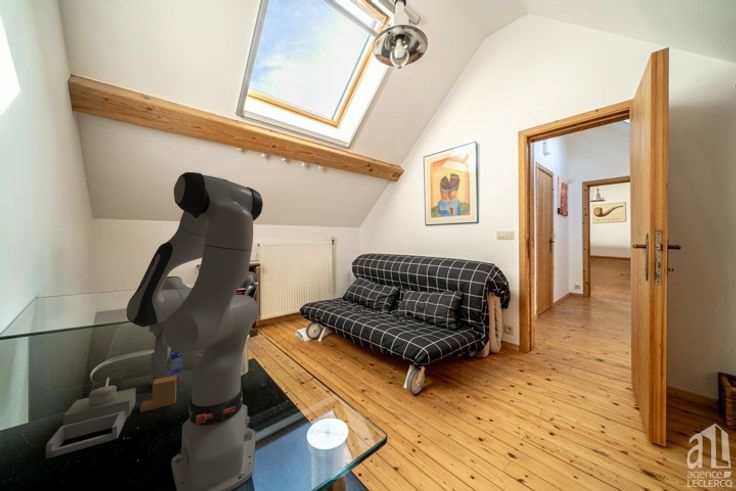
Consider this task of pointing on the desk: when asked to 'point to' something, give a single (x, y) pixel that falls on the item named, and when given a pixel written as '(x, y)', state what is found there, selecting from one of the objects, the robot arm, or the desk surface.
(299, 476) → the desk surface
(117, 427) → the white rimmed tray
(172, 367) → the ink cartridge box
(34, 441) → the desk surface
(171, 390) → the orange upright block
